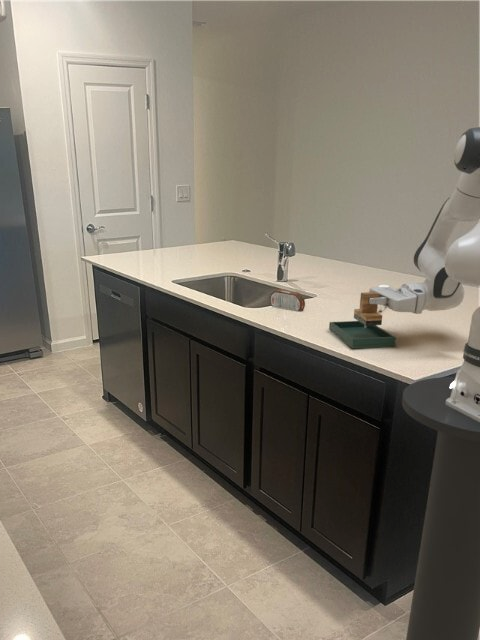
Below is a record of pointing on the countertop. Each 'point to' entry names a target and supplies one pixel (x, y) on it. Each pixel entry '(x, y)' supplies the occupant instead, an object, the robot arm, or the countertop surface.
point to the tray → (362, 335)
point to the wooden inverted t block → (368, 310)
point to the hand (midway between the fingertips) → (366, 299)
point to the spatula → (380, 307)
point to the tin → (287, 300)
